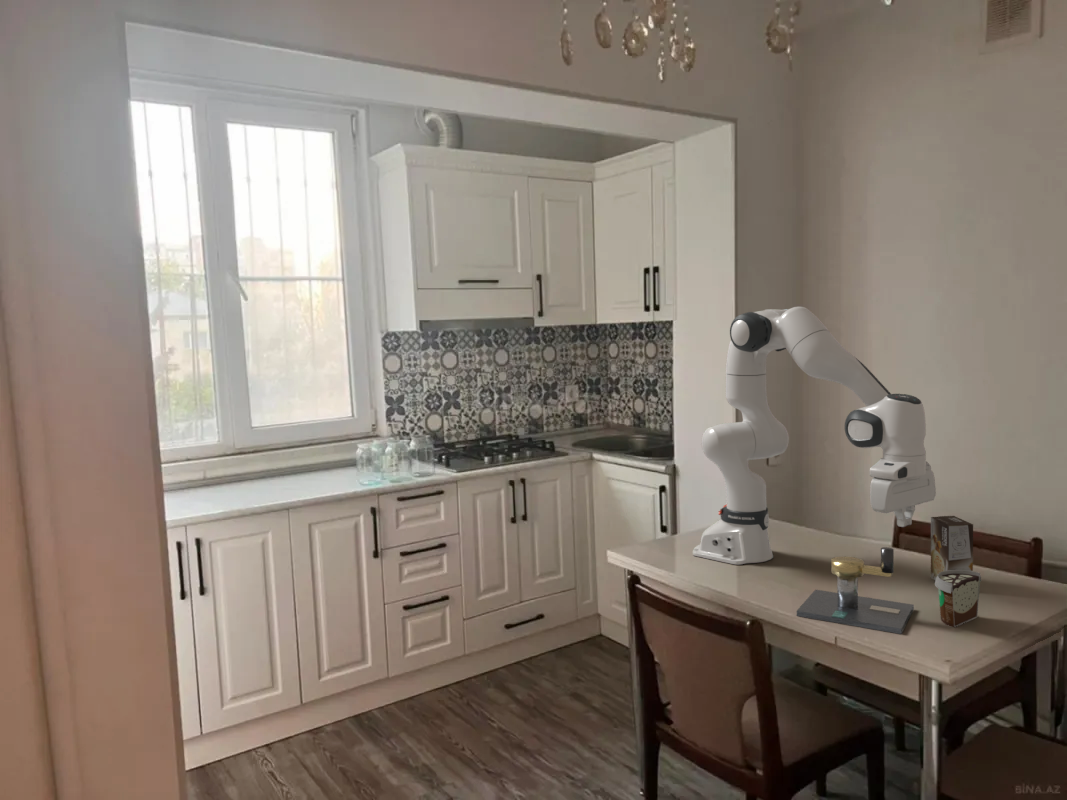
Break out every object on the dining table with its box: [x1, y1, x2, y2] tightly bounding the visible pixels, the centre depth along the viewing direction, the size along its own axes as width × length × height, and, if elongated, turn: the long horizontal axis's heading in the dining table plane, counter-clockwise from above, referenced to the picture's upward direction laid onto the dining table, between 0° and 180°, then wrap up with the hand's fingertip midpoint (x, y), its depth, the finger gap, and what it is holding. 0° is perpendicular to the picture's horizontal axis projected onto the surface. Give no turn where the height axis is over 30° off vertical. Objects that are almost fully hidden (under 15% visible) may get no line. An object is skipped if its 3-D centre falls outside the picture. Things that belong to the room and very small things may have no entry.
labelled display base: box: [796, 576, 915, 635], centre depth 178 cm, size 22×16×8 cm
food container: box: [934, 570, 982, 628], centre depth 173 cm, size 12×6×10 cm, turn 123°
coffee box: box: [930, 515, 974, 582], centre depth 195 cm, size 9×6×16 cm
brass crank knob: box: [830, 546, 895, 578], centre depth 178 cm, size 13×7×7 cm, turn 55°
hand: (904, 525), depth 178 cm, fingers closed
